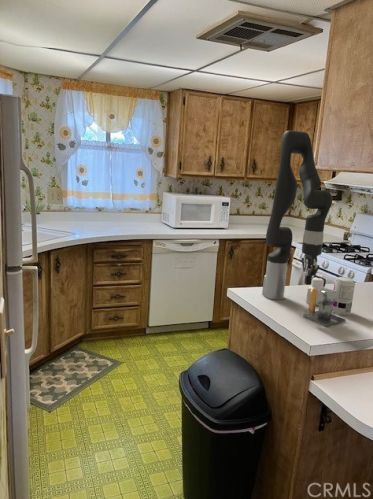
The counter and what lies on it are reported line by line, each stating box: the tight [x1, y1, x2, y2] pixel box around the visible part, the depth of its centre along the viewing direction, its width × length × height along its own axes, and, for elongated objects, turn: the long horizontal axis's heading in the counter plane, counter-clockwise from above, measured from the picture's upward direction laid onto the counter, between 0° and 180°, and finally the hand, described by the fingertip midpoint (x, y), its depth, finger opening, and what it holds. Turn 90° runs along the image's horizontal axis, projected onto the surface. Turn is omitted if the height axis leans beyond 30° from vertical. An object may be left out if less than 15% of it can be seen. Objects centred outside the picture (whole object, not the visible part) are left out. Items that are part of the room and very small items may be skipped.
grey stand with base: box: [302, 303, 347, 328], centre depth 166 cm, size 12×12×8 cm
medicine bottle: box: [306, 276, 328, 307], centre depth 186 cm, size 7×7×12 cm
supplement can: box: [332, 276, 356, 316], centre depth 175 cm, size 8×8×15 cm
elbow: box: [307, 288, 336, 314], centre depth 163 cm, size 14×6×9 cm, turn 125°
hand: (307, 284), depth 163 cm, fingers closed
